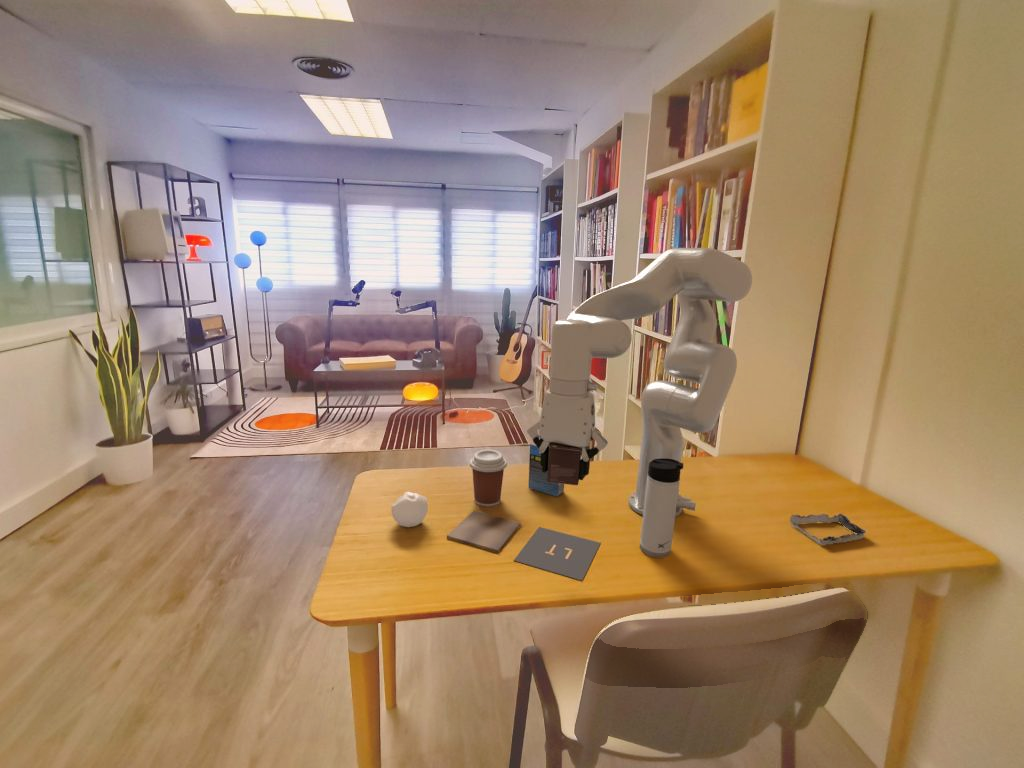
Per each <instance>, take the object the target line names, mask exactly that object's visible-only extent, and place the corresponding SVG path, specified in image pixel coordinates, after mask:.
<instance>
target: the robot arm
mask: <svg viewBox="0 0 1024 768" xmlns="http://www.w3.org/2000/svg"><path fill="white" fill-rule="evenodd" d="M752 274H753V273H752V272H751V269H750V267H749V266H748V265H747V263H746V262H743V261H742V260H739V259H737V258H736V257H733V256H731V255H730V254H728V253H725V252H724V251H721V250H718V249H715V248H711V247H673V248H670V249H668V250H665V251H664V252H662V253H661V254H660V255H659V256H658V257H656V258H655V259H654V260H653V261H651V263H649V264H648V265H647V266H646V267H645V268H644V269H642V270H641V271H640V272H639V273H638V274H636V275H635V277H634V278H632V279H631V280H629V281H626V282H623V283H621V284H618V285H616V286H614V287H611V288H609V289H607V290H604V291H602V292H600V293H597V294H595V295H592V296H591V297H589V298H588V299H586V300H585V301H583V302H582V303H581V304H580V305H578V306H577V307H576V308H575V309H574V310H573V311H572V312H571V313H570V314H569V315H567V317H566V318H564V319H563V318H562V319H559V320H556V321H555V322H554V323H553V324H552V327H551V340H550V341H551V343H550V346H551V347H550V366H549V385H548V387H549V388H547V389H546V390H545V393H544V397H543V401H542V406H541V412H540V419H539V421H537V422H536V423H535V424H533V425H532V426H531V427H530V426H529V428H528V429H527V431H526V433H527V434H528V436H529V437H530V438H531V439H532V442H533V443H534V445H535V446H537V447H538V448H539V452H540V453H541V463H540V465H541V466H542V472H547V470H548V456H549V446H550V443H551V442H552V443H557V444H563V445H568V446H574V447H578V449H581V451H580V454H581V460H580V464H579V481H583V480H584V478H586V476H588V475H589V473H590V467H591V465H590V463H591V459H592V458H594V457H595V456H596V455H598V454H599V453H600V452H601V451H602V450H603V449H604V448H606V447H607V446H608V445H609V442H608V440H607V439H606V438H605V436H603V435H602V434H601V433H600V432H599V431H598V430H597V428H596V404H595V396H594V393H592V392H593V391H597V389H598V383H596V382H593V381H592V377H591V373H592V359H595V358H596V359H598V358H599V359H615V358H619V357H621V356H622V355H624V354H625V353H626V352H627V351H628V350H629V348H630V347H631V344H632V331H631V329H630V327H629V325H628V324H626V323H625V320H626V321H628V320H634V319H635V320H636V319H640V318H641V319H642V318H645V317H649V316H653V315H655V314H657V313H659V312H660V310H662V309H663V308H664V306H666V305H667V304H668V303H669V302H670V301H671V300H672V299H673V298H675V296H676V297H677V299H678V304H679V310H680V312H679V313H680V314H679V319H678V322H677V325H676V327H675V330H674V332H673V335H672V338H671V341H670V343H669V345H668V348H667V350H666V352H665V353H666V354H665V356H664V359H663V363H662V365H663V370H664V372H665V373H666V374H667V375H669V376H671V377H673V378H676V379H678V380H683V381H687V382H691V383H695V384H699V387H698V388H697V387H693V386H689V385H686V384H682V383H677V382H675V381H669V380H655V381H651V382H650V383H648V384H647V385H645V387H644V389H643V391H642V393H641V398H640V408H641V418H642V421H641V422H642V428H641V430H642V431H641V441H640V453H639V461H638V471H637V481H636V488H635V492H633V493H631V494H630V495H629V498H628V506H629V507H630V508H631V509H632V510H633V511H634V512H636V513H638V514H640V515H641V516H643V511H644V501H645V492H646V483H647V474H648V467H649V463H650V462H652V460H654V459H660V458H667V459H673V460H677V461H679V462H680V463H682V455H683V450H684V449H683V448H684V438H683V433H682V430H681V429H683V430H686V431H690V432H693V433H696V434H705V433H708V432H710V431H711V430H712V429H713V428H714V426H715V424H716V423H717V422H718V420H719V417H720V414H721V412H722V409H723V407H724V405H725V402H726V399H727V397H728V395H729V392H730V389H731V388H732V384H733V382H734V378H735V376H736V372H737V365H738V360H737V355H736V353H735V351H734V349H732V347H729V346H728V345H724V344H720V343H714V342H713V339H714V336H715V334H716V329H717V326H718V321H717V317H716V314H715V311H714V310H713V308H712V306H711V303H710V302H709V301H714V302H715V301H717V302H727V303H735V302H740V301H742V300H743V299H745V298H746V296H748V294H749V292H750V290H751V288H752V284H753V276H752ZM591 391H592V392H591ZM538 430H539V433H538ZM592 441H595V442H596V445H595V446H593V447H591V446H590V442H592ZM696 506H697V502H694V501H692V498H690V497H687V496H686V497H685V496H682V495H681V494H680V489H679V490H678V498H677V506H676V514H675V518H676V517H679V515H681V514H682V509H686V510H688V511H689V510H690V511H694V512H695V511H696Z"/></svg>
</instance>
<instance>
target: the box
mask: <svg viewBox="0 0 1024 768" xmlns="http://www.w3.org/2000/svg"><path fill="white" fill-rule="evenodd" d="M580 451H581V449H578V447H574V446H568V445H563V444H557V443H552V442H551V443H550V446H549V456H548V478H547V482H550V483H560V484H564V485H570V486H578V485H579V482H580V480H579V464H580V460H581V459H582V456H581V454H580Z"/></svg>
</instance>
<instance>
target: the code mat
mask: <svg viewBox="0 0 1024 768" xmlns="http://www.w3.org/2000/svg"><path fill="white" fill-rule="evenodd" d="M600 545H601V542H599V541H596V540H591V539H589V538H588V539H587V538H584V537H580V536H576V535H572V534H568V533H565V532H561V531H556V530H553V529H550V528H545V527H541V526H538V528H537V529H536V530H535V531H534V532H533V534H532V535H531V537H529V539H528V540H527V542H526V543H525V545H524V546H523V547H522V549H521V550H520V551H519V552H518V554H517V555H516V557H515V558H514V559H513V561H514V562H517V563H520V564H524V565H527V566H530V567H534V568H536V569H541V570H544V571H547V572H551V573H554V574H556V575H561V576H564V577H568V578H571V579H574V580H577V581H580V582H582V581H583V580H584V578H585V576H586V575H587V574H586V573H587V572H588V570H589V568H590V565H591V564H592V562H593V560H594V558H595V556H596V553H597V551H598V549H599V547H600Z"/></svg>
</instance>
